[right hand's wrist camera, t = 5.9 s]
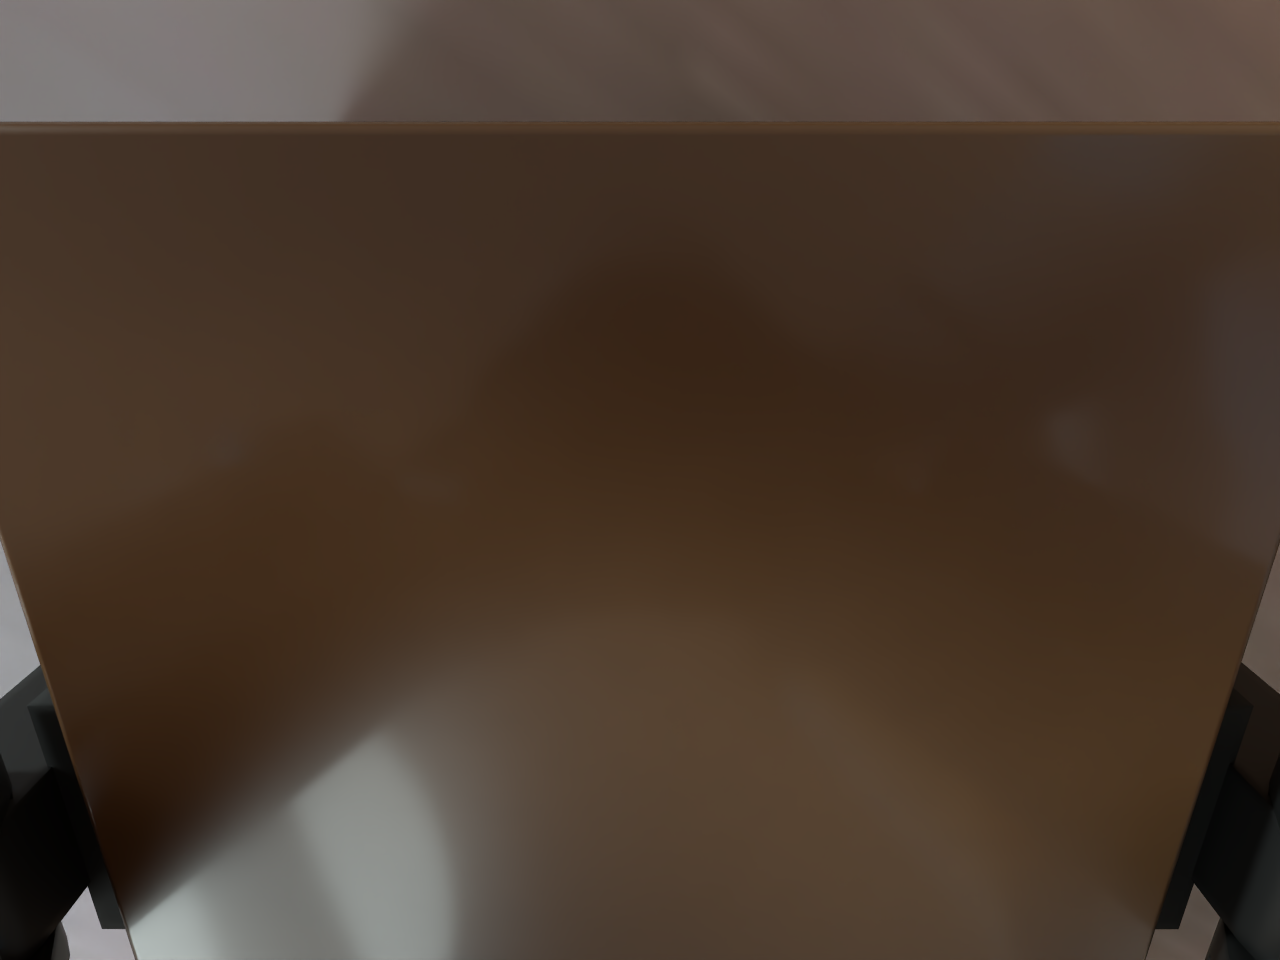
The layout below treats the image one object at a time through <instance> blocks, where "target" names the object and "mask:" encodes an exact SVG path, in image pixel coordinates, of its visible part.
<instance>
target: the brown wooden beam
mask: <svg viewBox="0 0 1280 960" xmlns="http://www.w3.org/2000/svg"><path fill="white" fill-rule="evenodd" d="M0 541H1V544H2V547H3V550H4V553H5V556H6V559H7V562H8V565H9V569H10V572H11V575H12V578H13V581H14V584H15V587H16V590H17V593H18V597H19V600H20V603H21V606H22V609H23V612H24V615H25V618H26V621H27V624H28V628H29V631H30V634H31V637H32V640H33V643H34V646H35V649H36V652H37V656H38V659H39V662H40V665H41V668H42V671H43V674H44V677H45V680H46V684H47V687H48V690H49V693H50V696H51V699H52V702H53V705H54V708H55V711H56V715H57V718H58V721H59V724H60V727H61V730H62V733H63V736H64V739H65V743H66V746H67V749H68V752H69V755H70V758H71V761H72V764H73V767H74V771H75V774H76V777H77V780H78V783H79V786H80V789H81V792H82V795H83V798H84V802H85V805H86V808H87V811H88V814H89V817H90V820H91V823H92V826H93V830H94V833H95V836H96V839H97V842H98V845H99V848H100V851H101V854H102V858H103V861H104V864H105V867H106V870H107V873H108V876H109V879H110V882H111V886H112V889H113V892H114V895H115V898H116V901H117V904H118V907H119V910H120V913H121V917H122V920H123V923H124V926H125V929H126V932H127V935H128V938H129V941H130V945H131V948H132V951H133V954H134V957H135V960H1145V959H1146V956H1147V953H1148V950H1149V947H1150V944H1151V940H1152V937H1153V934H1154V931H1155V928H1156V925H1157V922H1158V919H1159V916H1160V913H1161V909H1162V906H1163V903H1164V900H1165V897H1166V894H1167V891H1168V888H1169V885H1170V882H1171V878H1172V875H1173V872H1174V869H1175V866H1176V863H1177V860H1178V857H1179V854H1180V850H1181V847H1182V844H1183V841H1184V838H1185V835H1186V832H1187V829H1188V826H1189V823H1190V819H1191V816H1192V813H1193V810H1194V807H1195V804H1196V801H1197V798H1198V795H1199V791H1200V788H1201V785H1202V782H1203V779H1204V776H1205V773H1206V770H1207V767H1208V764H1209V760H1210V757H1211V754H1212V751H1213V748H1214V745H1215V742H1216V739H1217V736H1218V732H1219V729H1220V726H1221V723H1222V720H1223V717H1224V714H1225V711H1226V708H1227V705H1228V701H1229V698H1230V695H1231V692H1232V689H1233V686H1234V683H1235V680H1236V677H1237V674H1238V670H1239V667H1240V664H1241V661H1242V658H1243V655H1244V652H1245V649H1246V646H1247V642H1248V639H1249V636H1250V633H1251V630H1252V627H1253V624H1254V621H1255V618H1256V615H1257V611H1258V608H1259V605H1260V602H1261V599H1262V596H1263V593H1264V590H1265V587H1266V583H1267V580H1268V577H1269V574H1270V571H1271V568H1272V565H1273V562H1274V559H1275V556H1276V552H1277V549H1278V546H1279V543H1280V122H0Z"/></svg>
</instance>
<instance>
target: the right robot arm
mask: <svg viewBox="0 0 1280 960" xmlns="http://www.w3.org/2000/svg"><path fill="white" fill-rule="evenodd" d="M1193 884H1195V885H1196V886H1197V888H1198V889H1199V890H1200V891H1201V893H1202V894H1203V895H1204V897H1205V898H1206V899H1207V901H1208V902H1209V903H1210V905H1211V906H1212V907H1213V908H1214V910H1215V911H1216V912H1217V914H1218V915H1219V916H1220V919H1219V922H1218V925H1217V928H1216V930H1215V933H1214V936H1213V939H1212V942H1211V944H1210V947H1209V950H1208V953H1207V955H1206V958H1205V960H1280V694H1279V693H1277V692H1276V691H1275V690H1274V689H1273V688H1271V687H1270V686H1269V685H1268V684H1267V683H1265V682H1264V681H1263V680H1262V679H1261V678H1259V677H1258V676H1257V675H1256V674H1255V673H1254V672H1252V671H1251V670H1250V669H1249V668H1248V667H1246V666H1245V665H1244V664H1243V663H1242V662H1241V664H1240V667H1239V670H1238V674H1237V677H1236V680H1235V683H1234V686H1233V689H1232V692H1231V695H1230V698H1229V701H1228V705H1227V708H1226V711H1225V714H1224V717H1223V720H1222V723H1221V726H1220V729H1219V732H1218V736H1217V739H1216V742H1215V745H1214V748H1213V751H1212V754H1211V757H1210V760H1209V764H1208V767H1207V770H1206V773H1205V776H1204V779H1203V782H1202V785H1201V788H1200V791H1199V795H1198V798H1197V801H1196V804H1195V807H1194V810H1193V813H1192V816H1191V819H1190V823H1189V826H1188V829H1187V832H1186V835H1185V838H1184V841H1183V844H1182V847H1181V850H1180V854H1179V857H1178V860H1177V863H1176V866H1175V869H1174V872H1173V875H1172V878H1171V882H1170V885H1169V888H1168V891H1167V894H1166V897H1165V900H1164V903H1163V906H1162V909H1161V913H1160V916H1159V919H1158V922H1157V925H1156V928H1155V929H1179V926H1180V923H1181V920H1182V917H1183V914H1184V911H1185V908H1186V905H1187V902H1188V899H1189V896H1190V893H1191V890H1192V887H1193ZM87 886H88V888H89V891H90V894H91V897H92V900H93V903H94V906H95V909H96V912H97V915H98V918H99V921H100V924H101V927H102V929H125V926H124V923H123V920H122V917H121V913H120V910H119V907H118V904H117V901H116V898H115V895H114V892H113V889H112V886H111V882H110V879H109V876H108V873H107V870H106V867H105V864H104V861H103V858H102V854H101V851H100V848H99V845H98V842H97V839H96V836H95V833H94V830H93V826H92V823H91V820H90V817H89V814H88V811H87V808H86V805H85V802H84V798H83V795H82V792H81V789H80V786H79V783H78V780H77V777H76V774H75V771H74V767H73V764H72V761H71V758H70V755H69V752H68V749H67V746H66V743H65V739H64V736H63V733H62V730H61V727H60V724H59V721H58V718H57V715H56V711H55V708H54V705H53V702H52V699H51V696H50V693H49V690H48V687H47V684H46V680H45V677H44V674H43V671H42V668H41V665H40V666H39V667H38V668H36V669H35V670H34V671H33V672H32V673H31V674H29V675H28V676H27V677H26V678H25V679H23V680H22V681H21V682H20V683H19V684H18V685H16V686H15V687H14V688H13V689H12V690H10V691H9V692H8V693H7V694H6V695H4V696H3V697H2V698H1V699H0V960H69V958H70V952H69V946H68V940H67V936H66V933H65V930H64V928H63V925H62V922H61V920H62V919H63V918H64V916H65V915H66V914H67V912H68V911H69V910H70V908H71V907H72V906H73V905H74V903H75V902H76V901H77V899H78V898H79V897H80V895H81V894H82V893H83V891H84V890H85V889H86V887H87Z"/></svg>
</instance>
